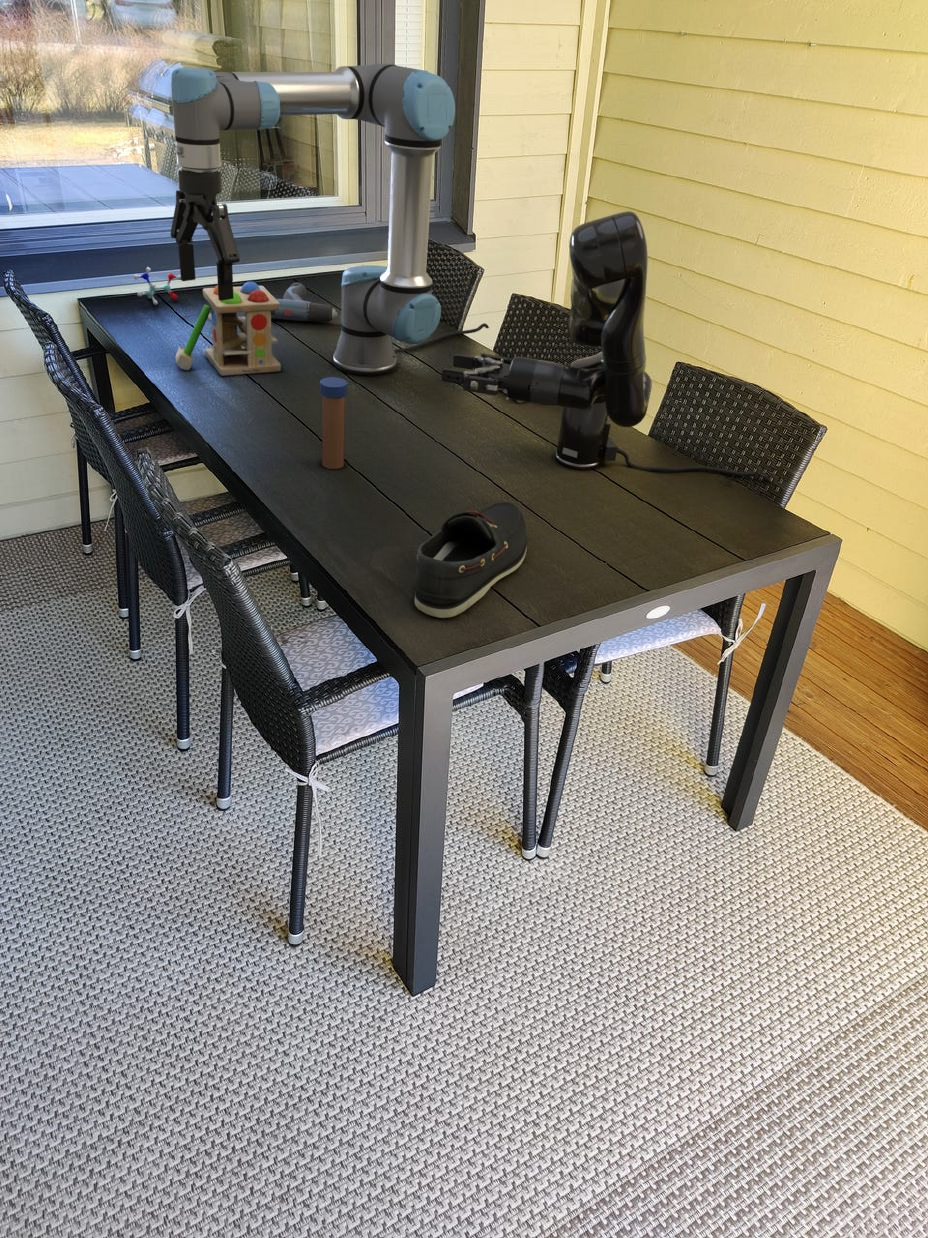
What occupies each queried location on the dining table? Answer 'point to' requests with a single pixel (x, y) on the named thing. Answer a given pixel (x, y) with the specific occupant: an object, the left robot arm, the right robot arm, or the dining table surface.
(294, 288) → the power drill
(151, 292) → the molecular model
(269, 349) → the pounding bench toy
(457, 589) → the boat shoe
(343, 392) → the lid
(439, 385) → the dining table surface
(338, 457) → the jar
